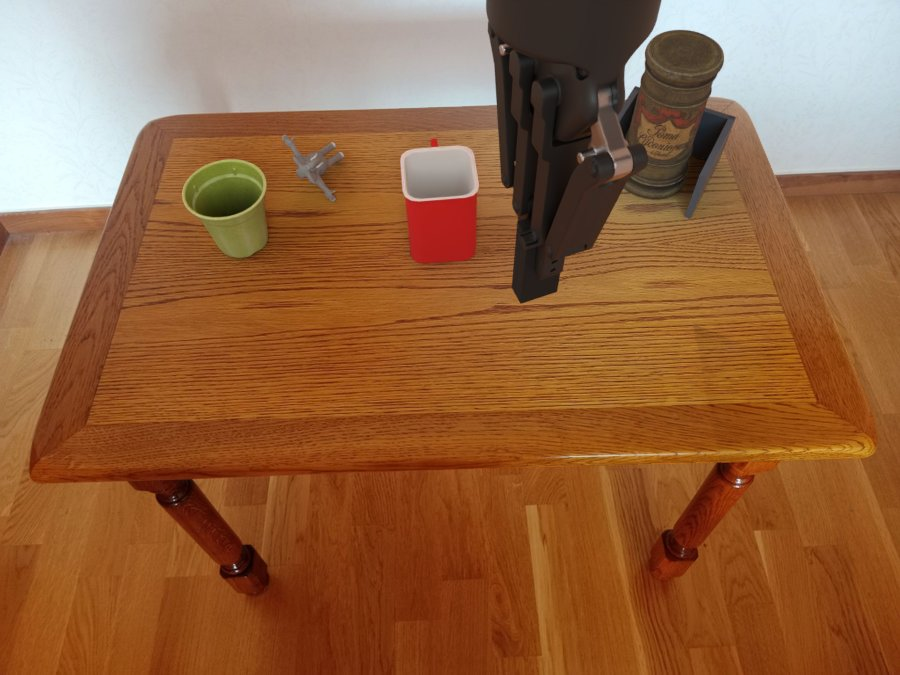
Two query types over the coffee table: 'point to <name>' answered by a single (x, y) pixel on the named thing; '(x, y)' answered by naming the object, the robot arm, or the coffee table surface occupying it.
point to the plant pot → (230, 205)
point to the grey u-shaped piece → (704, 145)
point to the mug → (440, 202)
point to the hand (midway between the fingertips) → (534, 289)
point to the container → (671, 108)
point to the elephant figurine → (314, 164)
